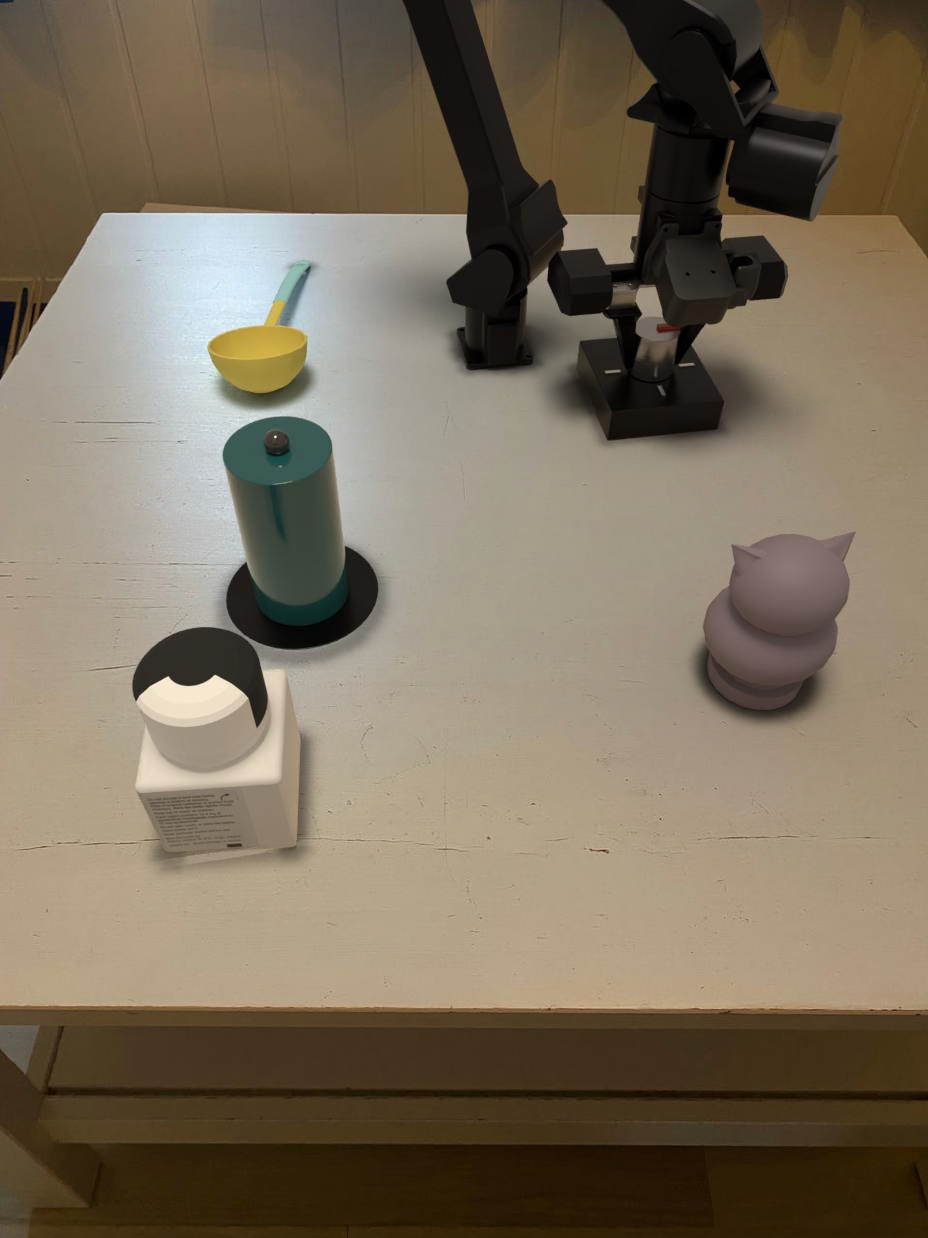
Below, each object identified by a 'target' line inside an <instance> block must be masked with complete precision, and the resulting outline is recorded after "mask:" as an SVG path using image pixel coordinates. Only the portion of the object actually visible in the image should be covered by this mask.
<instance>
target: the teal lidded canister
mask: <svg viewBox="0 0 928 1238" xmlns="http://www.w3.org/2000/svg"><path fill="white" fill-rule="evenodd" d="M222 449H223V450H222V454H221V455H222V463H223V466H224V470H225V475H226V479H227V484H228V486H229V492H230V496H231V500H232V505H233V509H234V513H235V517H236V522H237V526H238V530H239V535H240V540H241V544H242V548H243V551H244V556H245V560H246V561H247V565H248V570H249V574H250V578H251V582H252V587H253V591H254V595H255V600H256V603H257V605H258V607H259V609H260V610H261V612H262V613H263V614H264V615H265V616H267V617H268V618H269V619H271V620H273V621H275V622H278V623H280V624H284V625H290V626H306V625H312V624H315V623H319V622H321V621H324V620H326V619H328V618H329V617H331V616H333V615H334V614H335V613H336V612H338V611H339V610H340V609H341V608H342V606H343V605H344V604H345V602H346V600H347V598H348V595H349V579H348V570H347V562H346V554H345V546H346V545H345V538H344V529H343V522H342V514H341V505H340V504H341V503H340V497H339V489H338V487H339V486H338V480H337V471H336V462H335V456H334V446H333V442H332V439H331V436H330V435H329V433H328V432H327V430H325V429H324V427H322V426H321V425H319V424H318V423H316V422H314V421H311V420H309V419H306V418H303V417H297V416H289V415H287V416H286V415H281V416H270V417H265V418H260V419H257V420H255V421H252V422H249V423H247V424H245V425H243V426H242V427H240V428H238V429H237V430H236V431H234V432H233V433H232V435H230V436H229V438H228V439H227V440H226V442H225V444H224V446H223V448H222ZM246 561H245V562H246Z"/></svg>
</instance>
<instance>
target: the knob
mask: <svg viewBox="0 0 928 1238" xmlns="http://www.w3.org/2000/svg"><path fill="white" fill-rule="evenodd" d="M679 337H680V327H672V326H670V325H668V324H667V323H666V322H665V321H664V319H663V316H646V317H641V318H639V319H638V321H637V323H636V335H635V346H634V357H633V361H632V365H631V368H630V369H628V371H629V373H630V374H631V375H632V376H633V377H635V378H637V379H639V380H642V381H647V382H658V381H663V380H665V379H667V378H669V377H670V376H671V374H672V371H673V367H674V362H675V357H676V352H677V347H678V342H679Z"/></svg>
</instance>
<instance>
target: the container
mask: <svg viewBox="0 0 928 1238" xmlns="http://www.w3.org/2000/svg"><path fill="white" fill-rule="evenodd" d="M131 684H132V685H131V686H132V687H131V690H132V695H133V698H134V701H135V703H136V706H137V708H138V710H139V713H140V715H141V717H142V721H143V723H144V724H145V725H144V729H143V736H142V742H141V748H140V754H139V760H138V767H137V772H136V777H135V778H136V779H135V783H134V784H135V785H134V788H135V792H136V794H137V796H138V798H139V800H140V803H141V804H142V806H143V809H144V810H145V812H146V814H147V817H148V819H149V821H150V823H151V825H152V827H153V829H154V831H155V833H156V835H157V837H158V840H159V842H160V844H161V845H162V848H163V850H164V851H165V852H167V853H179V852H190V851H191V852H192V851H203V850H204V851H206V850H218V849H219V850H220V849H226V850H221V851H219V853H226V852H227V853H228V852H241V851H254V850H257V851H258V850H270V849H285V848H292V847H295V846H296V845H297V844H298V839H297V838H298V826H299V825H298V823H299V798H300V797H299V793H300V768H301V766H300V765H301V764H300V763H301V734H300V730H299V724H298V720H297V715H296V711H295V707H294V701H293V696H292V692H291V689H290V683H289V678H288V673H287V672H286V670H284V669H282V668H273V669H270V668H269V669H263V668H262V665H261V660H260V658H259V654H258V653H257V651H256V648H254V646H253V645H252V644H251V642H250V641H249V640H248V639H246V638H245V637H243V636H242V635H240V634H238V633H236V632H234V631H231V630H229V629H226V628H225V629H224V628H220V627H214V626H200V627H199V626H198V627H197V626H196V627H192V628H186V629H183V630H179V631H177V632H174V633H172V634H170V635H168V636H165V637H164V638H162V639H161V640H159V641H158V642H157V643H155V644H154V645H153V646H152V647H151V648H150V649H149V650H148V651H147V652H146V653H145V654H144V656H143V657H142V658H141V660H140V661H139V662H138V664H137V666H136V667H135V670H134V674H133V676H132V682H131ZM231 848H232V849H231ZM234 848H235V849H234ZM236 848H237V849H236ZM212 853H213V854H214V853H216V854H217V851H214V852H212Z"/></svg>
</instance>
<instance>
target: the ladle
mask: <svg viewBox="0 0 928 1238" xmlns="http://www.w3.org/2000/svg"><path fill="white" fill-rule="evenodd" d="M311 264H312V263H311V262H310V261H308V260H305V259H304V260H303V259H302V260H299V261H297V262H296V263H295V264H294V265H293V266H292V267H291V268H290V270H288V272H287V273H286V275H285V276H284V278H283V280H282V282H281V284H280V285H279V287H278V290H277V292H276V294H275V297H274V299H273V301H272V306H271V308H270V310H269V312H268V314H267V317H266V320H265V322H264V324H263V325H250V326H244V327H237V328H234V329H230V330H228V331H227V330H226V331H224V332H222V333H220V334H217V335H216V336H214V337H213V338H212V339H210V340H209V341H208V344H207V346H206V348H207V351H208V354H209V357H210V359H211V362H212V364H213V366H214V367H215V370H217V372H218V373H219V374H220V375H221V377H222V378H223V379H224V380H225V381H227V382H228V383H230V384H231V385H232V386H234V387H236V388H237V389H239V390H240V391H241V390H242V391H246V392H251V393H256V394H267V393H271V392H275V391H277V390H280V389H282V388H285V387H286V386H287V385H290V383H291V382H292V381H293V380H294V379H295V378H296V377H297V376H298V375H299V373H300V372H302V370H303V367H304V364H305V362H306V359H307V356H308V355H307V353H308V336H307V335H306V334H305V332H304V331H302V330H300V329H297V328H296V327H292V326H285V325H278V323H279V320H280V319H281V316H282V314H283V311H284V309H285V307H286V305H288V301H289V299H290V297H291V294H292V292H293V291H294V289H295V288H296V286H297V284H298V282H299V280H300V279H301V277H302V275H304V273H305V272H306V271H307V270H308V268H309V267H310V266H311Z"/></svg>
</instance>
